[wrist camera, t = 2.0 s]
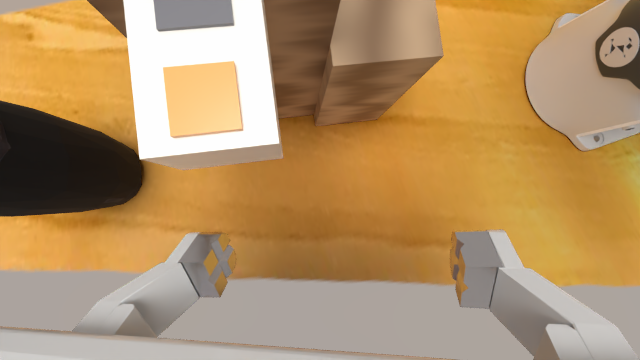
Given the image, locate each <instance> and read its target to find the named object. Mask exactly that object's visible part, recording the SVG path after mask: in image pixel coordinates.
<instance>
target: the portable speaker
mask: <svg viewBox="0 0 640 360" xmlns="http://www.w3.org/2000/svg"><path fill="white" fill-rule="evenodd" d="M141 177H142V173H141V165H140V162H139V160H138V157H137V155H136V153H135V152H134V150H132V149H131V148H129V147H127V146H126V145H124V144H122V143H120V142H118V141H116V140H115V139H113V138H111V137H109V136H107V135H105V134H104V133H102V132H99V131H97V130H94V129H91V128H88V127H86V126H83V125H80V124H77V123H74V122H71V121H68V120H65V119H62V118H59V117H56V116H53V115H50V114H48V113H45V112H42V111H39V110H36V109H33V108H29V107H24V106H20V105H16V104H12V103H8V102H4V101H0V216H26V215H42V214H57V213H72V212H83V211H89V210H94V209H100V208H106V207H112V206H115V205H120V204H124V203H125V202H127V201H128V200H130V199H131V198H133V197H134V196H135V195H136V194H137V192H138V190H139V189H140V187H141V185H142V183H141Z"/></svg>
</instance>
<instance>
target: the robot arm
mask: <svg viewBox="0 0 640 360" xmlns="http://www.w3.org/2000/svg"><path fill="white" fill-rule="evenodd" d="M526 89H527V93H528V97H529V100H530V102H531V104H532V106H533V108H534V109H535V111H536V112H537V114H538V115H539V116H540V117H541V118H542V119H543V120H544V121H545V122H546V123H547V124H548V125H550V126H551V127H553V128H554V129H556V130H558V131H560V132H562V133H563V134H565V135H566V136H568V138H569V139H570V140H571V141H572V142H573V144H574V145H575V146H576V147H577V148H578V149H580V150H582V151H589V150H592V149H595V148H598V147H601V146H604V145H607V144H609V143H612V142H615V141H618V140H621V139H624V138H626V137H629V136H632V135H635V134H638V133H640V0H606V1H604V2H603V3H601V4H599V5H597V6H595V7H594V8H592V9H590V10H588V11H586V12H585V13H583V14H574V13H567V14H564V15H562V16H561V17H559V18H558V19H557V20H556V21H555V23H554V25H553V28H552V30H551V32H550V34H549V35H548V36H547V38H545V39H544V40H543V41H542V42H541V43H540V44H539V45H538V46H537V47H536V48H535V50H534V51H533V53H532V54H531V56H530V59H529V61H528V64H527V68H526ZM594 139H595V140H594ZM451 241H452V245H453V248H452V249H450V268H451V273H452V277H453V279H454V280H456V293H457V297H458V300H459V304H460V307H470V308H485V309H490V311H491V312H492V313H493V314H494V315H495V316H496V317H497V319H498V320H499V321H500V322H501V323H502V324H503V325H504V326H505V327H506V328H507V329H508V330H509V331H510V332H511V333H512V334H513V335H514V336H515V337H516V338H517V339H518V340H519V341H520V343H522V345H523V346H524V347H525V348H526V349H527V350H528V351H529V352H530V353H531V354H532V355H533V356H534V359H533V360H640V359H639V358H638V356H637V355H636V353H635V352H634V351H633V349H632V348H631V346H630V345H629V343H628V342H627V340H626V339H625V338H624V336H623V335H622V333H621V332H620V330H619V329H618V328H617V326H616V325H614V324H613V323H611V322H610V321H608V320H607V319H605V318H604V317H602V316H601V315H599V314H598V313H596V312H595V311H593V310H592V309H590V308H589V307H587V306H586V305H584V304H583V303H581V302H580V301H578V300H577V299H575V298H574V297H572V296H571V295H569V294H568V293H566V292H565V291H563V290H562V289H560V288H559V287H557V286H556V285H554V284H553V283H551V282H550V281H548V280H547V279H545V278H544V277H542V276H541V275H540V274H538V273H537V272H535V271H534V270H532V269H531V268H524V266H523V264H522V262H521V260H520V258H519V256H518V254H517V253H516V251H515V249H514V247H513V245H512V243H511V241H510V239H509V237H508V235H507V234H506V232H505V231H504V230H469V231H453V232H452V237H451ZM229 242H230V238H229V236H228V234H226V233H218V232H201V233H200V232H190V233H188V234H186V235H185V237H184V238H183V239H182V241H181V242H180V243H179V245H178V246H177V247H176V248H175V250H174V251H173V252H172V254H171V255H170V256H169V258H168V259H167V260H166V262H165V263H160V264H158V265H156V266H155V267H153V268H152V269H150V270H148V271H147V272H145V273H143V274H142V275H140V276H138V277H137V278H135V279H134V280H132V281H131V282H129V283H127V284H126V285H124V286H122V287H121V288H119V289H117V290H116V291H114V292H112V293H111V294H109V295H108V296H106V297H104V298H103V299H101V300H99V301H98V302H97V303H96V304H95V305H94V307H93V308H92V309H91V310H90V311H89V312H88V313H87V314H86V316H85V317H84V318H83V319H82V320H81V321H80V323H79V324H78V325H77V326H76V327H75V328H74V329H73V330H72V332H71V331H57V330H43V329H29V328H15V327H1V326H0V360H454V359H441V358H428V357H413V356H399V355H386V354H371V353H358V352H357V353H356V352H344V351H330V350H317V349H302V348H288V347H275V346H263V345H248V344H234V343H221V342H208V341H207V342H206V341H194V340H180V339H167V338H157V337H158V336H159V335H160V334H161V333H162V332H163V331H164V330H165V329H166V328H167V327H169V326H170V325H171V324H172V323H173V322H174V321H175V320H176V319H177V318H178V317H180V315H182V314H183V313H184V312H185V311H186V310H187V309H188V308H189V307H190V306H192V305H193V304H194V303H195V302H196V301H197V300H198V299H199V297H221V295H222V292H223V291H224V289H225V287H226V285H227V279H226V278H227V277H228V276H229V275H230V274H232V273H233V270H234V268H235V264H236V253H235V251H234V249H233V248H232V247H231V246H230V245H228V244H229Z"/></svg>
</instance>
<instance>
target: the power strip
mask: <svg viewBox="0 0 640 360" xmlns="http://www.w3.org/2000/svg"><path fill="white" fill-rule="evenodd" d="M123 2H124V11H125V21H126V31H127V41H128V50H129V60H130V70H131V80H132V89H133V99H134V109H135V119H136V128H137V138H138V148H139V158H140V159H141V160H145V161H149V162H153V163H157V164H161V165H165V166H169V167H173V168H177V169H181V170H189V169H197V168H206V167H214V166H223V165H231V164H239V163H248V162H256V161H265V160H273V159H282V158H283V151H282V143H281V135H280V127H279V119H278V111H277V103H276V95H275V87H274V79H273V71H272V63H271V55H270V47H269V39H268V31H267V23H266V15H265V7H264V0H123Z"/></svg>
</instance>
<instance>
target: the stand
mask: <svg viewBox="0 0 640 360" xmlns="http://www.w3.org/2000/svg"><path fill="white" fill-rule="evenodd" d="M87 1H88V2H89V3H90V4H92V5H93V6H94V7H95V8H96V9H97V10H98V11H99V12H100V13H101V14H102V15H103V16H104V17H105V18H106V19H107V20H108V21H109V22H110V23H111V24H113V25H114V26H115V27H116V28H117V29H118V30H119V31H120V32H121V33H122V34H123V35H124V36H125V37H126V38H127V31H126V21H125V11H124V2H123V0H87ZM264 7H265V15H266V23H267V31H268V39H269V47H270V55H271V63H272V71H273V79H274V87H275V95H276V103H277V111H278V119H279V118H288V117H297V116H307V115H314V118H315V126H323V125H332V124H341V123H350V122H359V121H368V120H377V119H378V118H379V117H380V116H381V115H382V114H383V113H384V112H385V111H386V110H387V109H388V108H389V107H391V106H392V105H393V104H394V103H395V102H396V101H397V100H398V99H399V98H400V97H401V96H402V95H403V94H404V93H405V92H406V91H407V90H408V89H409V88H410V87H411V86H412V85H414V84H415V83H416V82H417V81H418V80H419V79H420V78H421V77H422V76H423V75H424V74H425V73H426V72H427V71H428V70H429V69H430V68H431V67H432V66H433V65H434V64H436V63H437V62H438V61H439V60H440V59H441V58H442V57H443V56H444V55H443V49H442V42H441V36H440V29H439V23H438V16H437V9H436V3H435V0H264Z"/></svg>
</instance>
